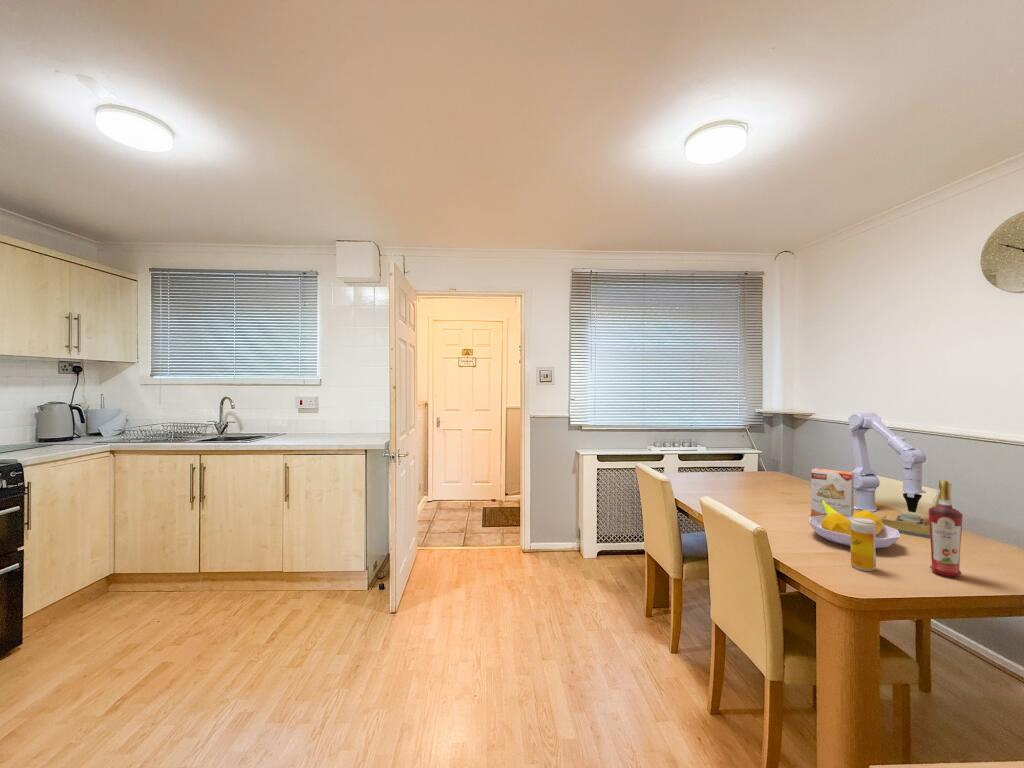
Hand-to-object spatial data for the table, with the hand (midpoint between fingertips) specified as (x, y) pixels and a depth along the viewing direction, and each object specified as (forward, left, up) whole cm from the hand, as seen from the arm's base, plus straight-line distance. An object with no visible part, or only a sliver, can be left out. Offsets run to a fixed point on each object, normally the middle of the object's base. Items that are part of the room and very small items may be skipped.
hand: (912, 511), depth 182 cm
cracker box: (+19, -24, -5) cm, 31 cm away
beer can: (+71, -7, -5) cm, 72 cm away
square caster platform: (+13, 0, -3) cm, 13 cm away
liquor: (+59, +11, -5) cm, 60 cm away
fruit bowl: (+44, -14, -5) cm, 47 cm away
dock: (+12, 0, -5) cm, 13 cm away
